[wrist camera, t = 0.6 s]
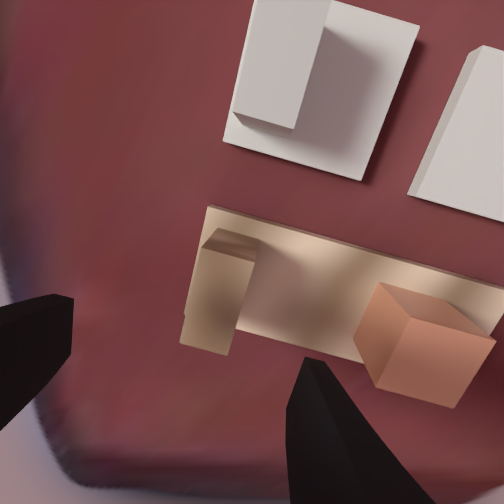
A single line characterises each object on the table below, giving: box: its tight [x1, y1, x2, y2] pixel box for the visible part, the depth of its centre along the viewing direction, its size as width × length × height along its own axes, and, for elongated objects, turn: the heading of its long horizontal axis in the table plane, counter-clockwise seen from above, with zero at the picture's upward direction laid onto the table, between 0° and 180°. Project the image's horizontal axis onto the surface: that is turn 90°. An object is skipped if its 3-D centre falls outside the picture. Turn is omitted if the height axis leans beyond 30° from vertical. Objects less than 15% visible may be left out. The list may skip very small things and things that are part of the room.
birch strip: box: [179, 204, 504, 364], centre depth 15 cm, size 18×7×5 cm, turn 75°
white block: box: [223, 0, 504, 222], centre depth 12 cm, size 18×7×5 cm, turn 75°
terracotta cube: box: [353, 282, 497, 409], centre depth 15 cm, size 4×4×4 cm
